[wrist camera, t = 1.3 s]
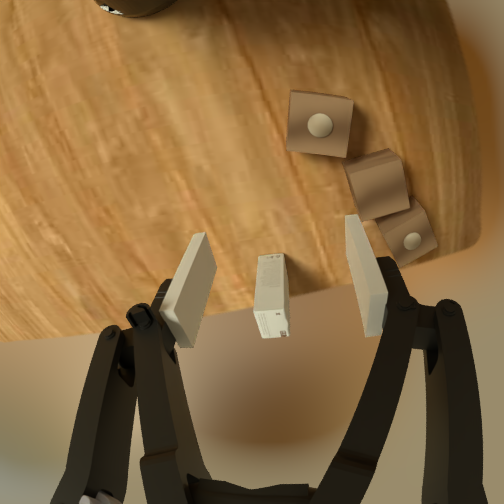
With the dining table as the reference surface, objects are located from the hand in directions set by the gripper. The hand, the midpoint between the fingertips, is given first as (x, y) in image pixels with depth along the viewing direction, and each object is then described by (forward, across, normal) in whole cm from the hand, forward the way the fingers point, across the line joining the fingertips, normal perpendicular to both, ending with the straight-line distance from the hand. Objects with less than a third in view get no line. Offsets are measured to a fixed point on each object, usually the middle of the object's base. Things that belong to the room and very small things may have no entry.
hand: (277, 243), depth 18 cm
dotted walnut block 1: (+24, +5, +3) cm, 24 cm away
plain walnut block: (+24, +12, -6) cm, 27 cm away
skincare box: (+24, -4, -20) cm, 31 cm away
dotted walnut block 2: (+24, +17, -14) cm, 32 cm away
